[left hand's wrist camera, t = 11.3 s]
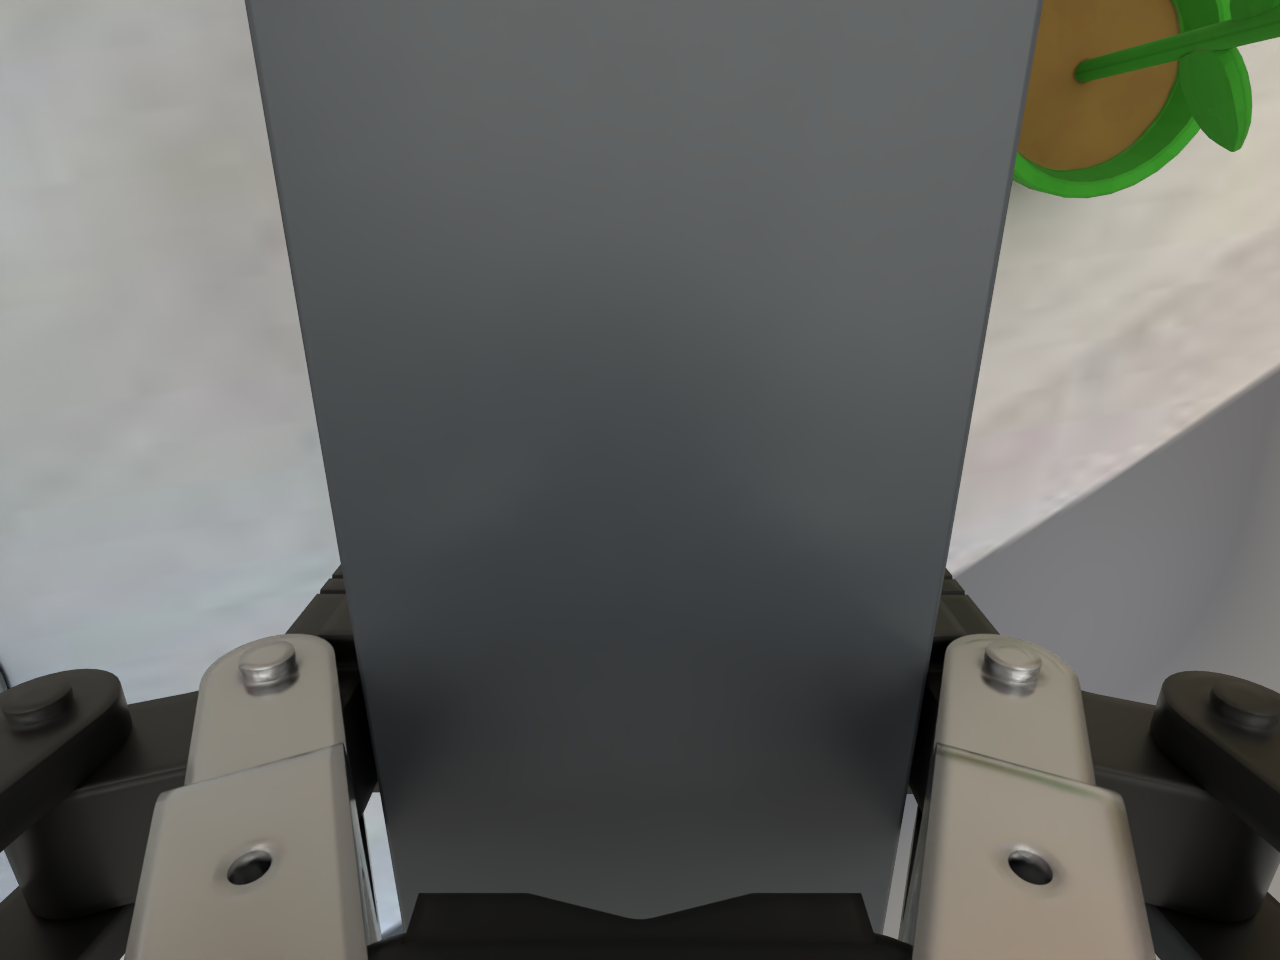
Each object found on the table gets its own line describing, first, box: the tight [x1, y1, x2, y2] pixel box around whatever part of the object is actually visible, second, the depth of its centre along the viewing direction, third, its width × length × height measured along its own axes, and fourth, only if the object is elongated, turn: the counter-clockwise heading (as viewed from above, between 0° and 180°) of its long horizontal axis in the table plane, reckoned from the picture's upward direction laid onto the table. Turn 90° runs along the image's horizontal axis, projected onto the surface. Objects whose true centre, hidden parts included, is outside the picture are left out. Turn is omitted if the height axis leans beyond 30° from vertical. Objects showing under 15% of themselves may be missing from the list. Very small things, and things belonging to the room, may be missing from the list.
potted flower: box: [1012, 0, 1280, 198], centre depth 18 cm, size 9×8×25 cm
